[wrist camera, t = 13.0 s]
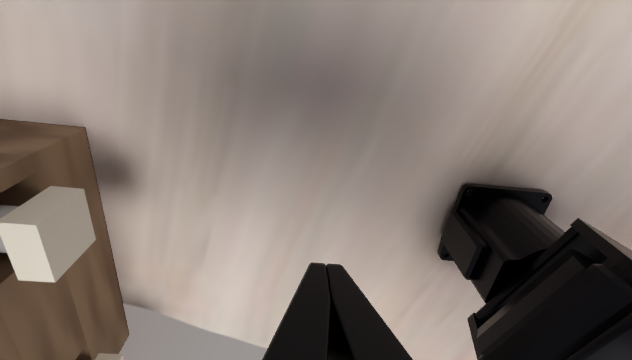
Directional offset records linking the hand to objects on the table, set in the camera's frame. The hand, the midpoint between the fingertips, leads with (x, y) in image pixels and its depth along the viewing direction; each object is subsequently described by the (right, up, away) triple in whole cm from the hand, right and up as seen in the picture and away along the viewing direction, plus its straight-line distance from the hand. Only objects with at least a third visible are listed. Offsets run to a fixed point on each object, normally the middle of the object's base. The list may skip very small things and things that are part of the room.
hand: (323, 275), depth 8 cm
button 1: (-17, +1, +8) cm, 19 cm away
